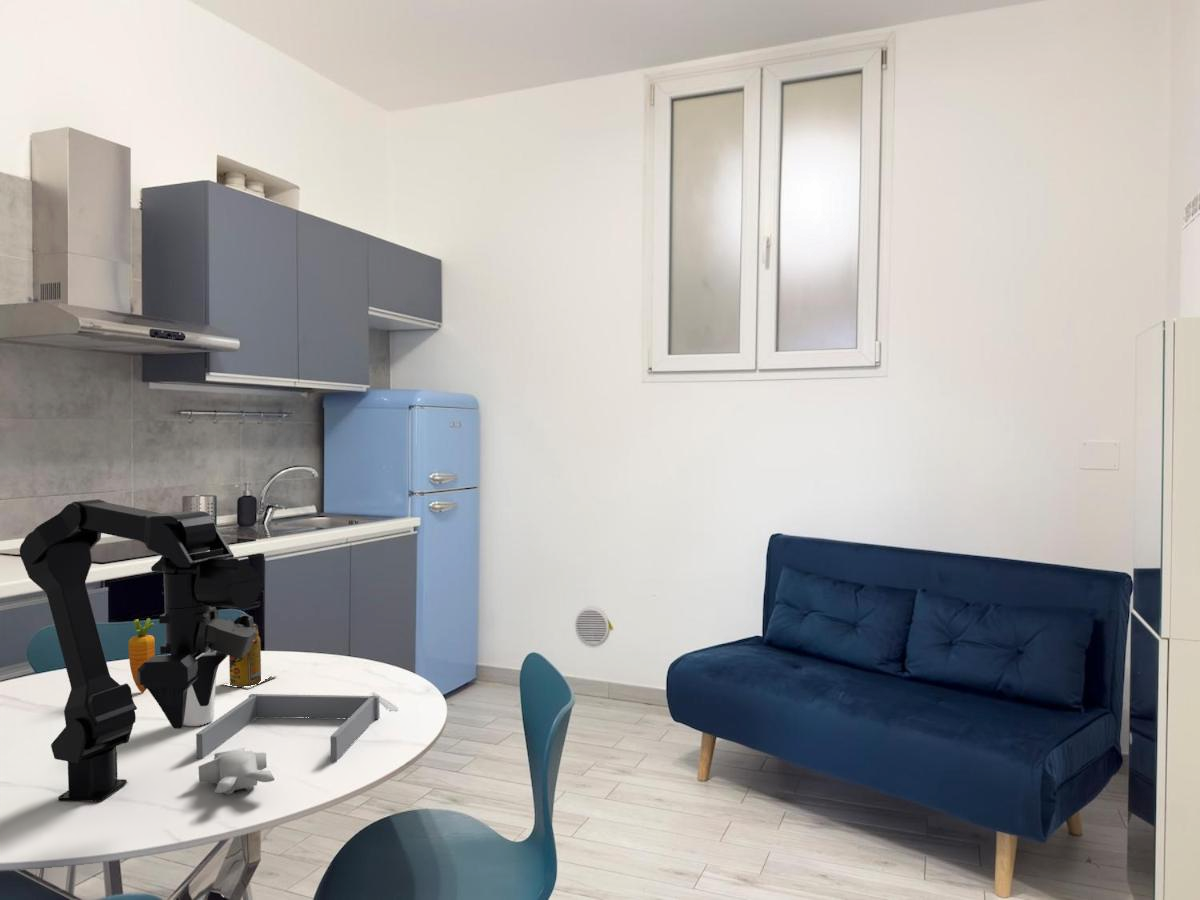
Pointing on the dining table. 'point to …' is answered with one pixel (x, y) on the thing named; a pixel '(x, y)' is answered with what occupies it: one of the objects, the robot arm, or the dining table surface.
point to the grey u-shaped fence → (281, 705)
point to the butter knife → (386, 703)
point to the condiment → (247, 666)
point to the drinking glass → (198, 709)
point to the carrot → (140, 649)
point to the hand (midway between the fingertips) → (191, 716)
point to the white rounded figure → (235, 770)
